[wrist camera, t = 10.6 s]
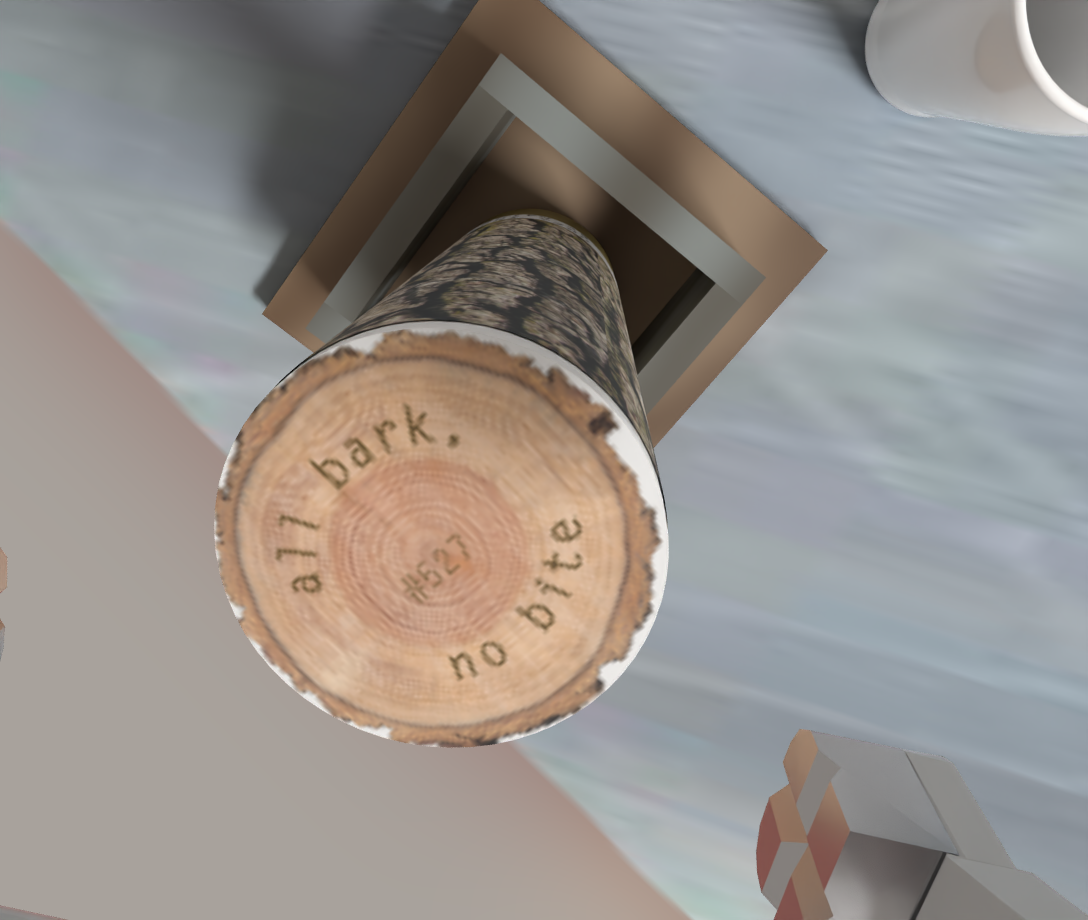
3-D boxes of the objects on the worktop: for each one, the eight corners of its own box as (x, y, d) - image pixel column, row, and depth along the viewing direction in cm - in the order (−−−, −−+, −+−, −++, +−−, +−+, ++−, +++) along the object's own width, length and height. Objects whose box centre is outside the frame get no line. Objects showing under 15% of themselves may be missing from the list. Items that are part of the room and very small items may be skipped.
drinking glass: (882, 170, 37) (1069, 190, 22) (811, 2, 35) (965, -94, 21) (1053, 80, 35) (1367, 39, 21) (989, -100, 34) (1284, -278, 19)
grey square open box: (269, 309, 39) (216, 338, 34) (503, -28, 35) (487, -61, 29) (569, 534, 42) (566, 596, 36) (821, 247, 38) (863, 266, 32)
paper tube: (411, 288, 38) (119, 534, 14) (536, 168, 36) (443, 220, 12) (527, 410, 39) (436, 821, 16) (652, 300, 38) (766, 572, 14)
